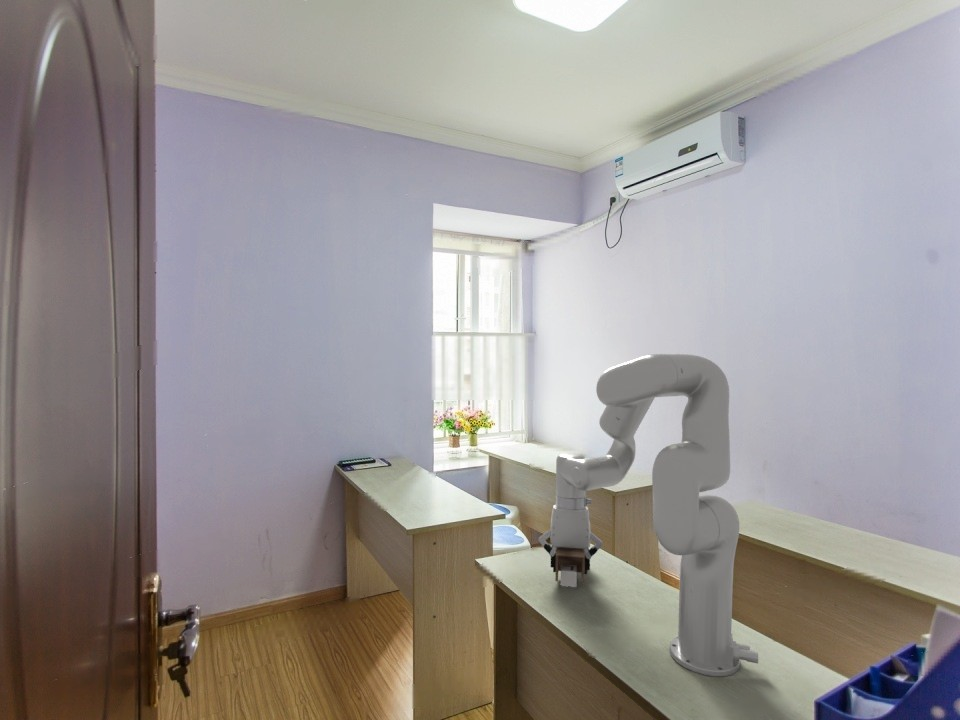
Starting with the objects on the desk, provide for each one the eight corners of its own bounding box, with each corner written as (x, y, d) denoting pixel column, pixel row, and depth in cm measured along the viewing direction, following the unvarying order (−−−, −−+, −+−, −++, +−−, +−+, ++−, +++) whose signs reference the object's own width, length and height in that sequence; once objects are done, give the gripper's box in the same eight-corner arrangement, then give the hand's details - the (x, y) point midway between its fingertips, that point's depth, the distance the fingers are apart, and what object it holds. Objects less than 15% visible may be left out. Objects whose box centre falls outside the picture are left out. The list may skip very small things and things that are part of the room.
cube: (576, 580, 138) (576, 565, 138) (576, 587, 134) (576, 571, 134) (560, 579, 138) (561, 564, 138) (560, 586, 134) (560, 570, 134)
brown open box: (583, 571, 139) (584, 545, 139) (584, 583, 132) (584, 555, 132) (556, 569, 140) (556, 543, 140) (555, 580, 133) (555, 553, 133)
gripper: (604, 500, 138) (603, 568, 138) (537, 496, 141) (536, 563, 141) (606, 508, 131) (605, 580, 131) (535, 504, 133) (535, 574, 133)
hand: (570, 570), depth 136 cm, fingers closed on brown open box, 7 cm apart
